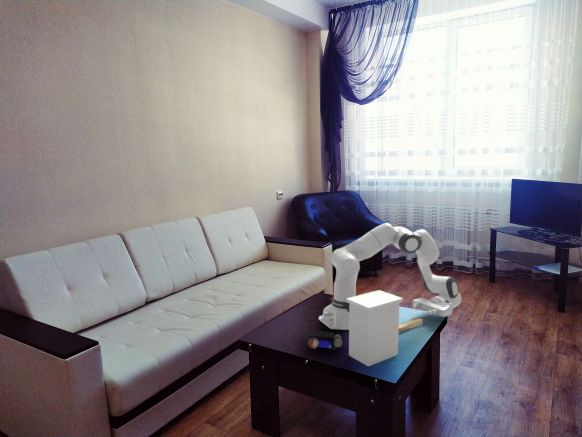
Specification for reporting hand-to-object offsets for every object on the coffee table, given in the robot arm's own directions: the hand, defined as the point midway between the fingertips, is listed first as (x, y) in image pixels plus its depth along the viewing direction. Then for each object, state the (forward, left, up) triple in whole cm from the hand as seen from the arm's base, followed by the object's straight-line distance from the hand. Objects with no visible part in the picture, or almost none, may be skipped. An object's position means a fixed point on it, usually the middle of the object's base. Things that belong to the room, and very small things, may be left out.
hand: (421, 310), depth 218 cm
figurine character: (-7, -58, -8) cm, 59 cm away
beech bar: (0, -13, -5) cm, 13 cm away
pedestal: (+11, -45, -7) cm, 47 cm away
